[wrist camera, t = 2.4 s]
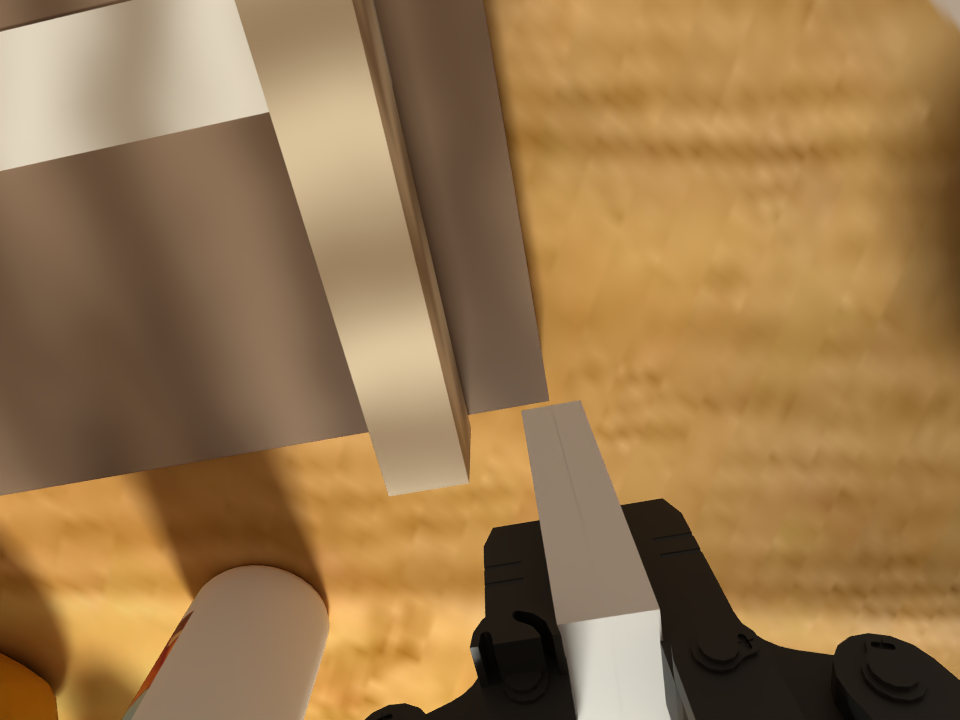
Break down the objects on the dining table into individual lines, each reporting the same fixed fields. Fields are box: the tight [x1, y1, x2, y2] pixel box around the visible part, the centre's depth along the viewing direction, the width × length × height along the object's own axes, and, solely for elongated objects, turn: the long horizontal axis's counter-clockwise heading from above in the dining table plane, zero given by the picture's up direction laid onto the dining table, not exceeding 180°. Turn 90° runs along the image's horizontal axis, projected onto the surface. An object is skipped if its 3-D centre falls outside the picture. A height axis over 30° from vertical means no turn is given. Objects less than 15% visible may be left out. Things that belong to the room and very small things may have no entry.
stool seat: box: [0, 0, 549, 496], centre depth 23 cm, size 28×18×3 cm, turn 101°
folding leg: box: [235, 0, 471, 496], centre depth 19 cm, size 17×3×4 cm, turn 11°
